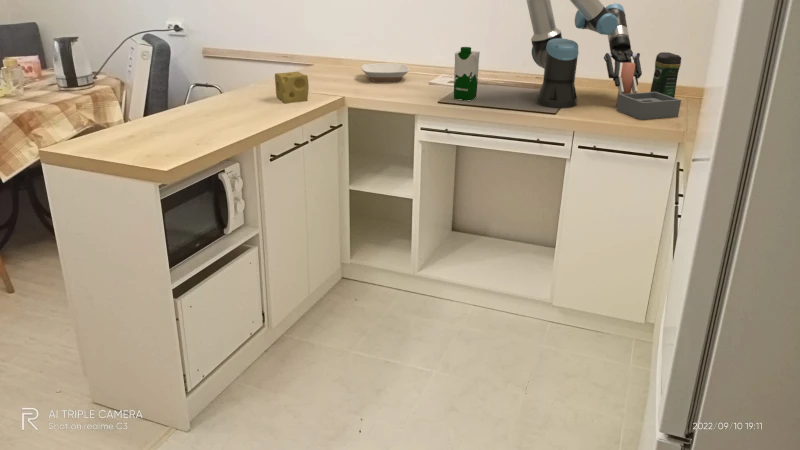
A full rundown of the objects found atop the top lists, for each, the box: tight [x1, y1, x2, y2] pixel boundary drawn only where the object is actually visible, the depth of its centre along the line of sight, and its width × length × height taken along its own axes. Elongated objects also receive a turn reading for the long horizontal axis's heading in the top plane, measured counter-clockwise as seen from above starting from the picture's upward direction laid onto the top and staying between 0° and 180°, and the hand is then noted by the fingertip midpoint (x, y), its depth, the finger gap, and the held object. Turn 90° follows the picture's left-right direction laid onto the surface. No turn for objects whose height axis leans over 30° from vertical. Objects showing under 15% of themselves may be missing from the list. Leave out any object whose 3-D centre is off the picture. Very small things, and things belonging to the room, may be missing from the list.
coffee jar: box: [649, 51, 682, 98], centre depth 247 cm, size 10×8×19 cm
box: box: [616, 91, 682, 121], centre depth 231 cm, size 16×14×6 cm
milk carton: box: [453, 46, 481, 101], centre depth 248 cm, size 9×9×20 cm
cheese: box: [274, 71, 310, 104], centre depth 247 cm, size 10×11×10 cm
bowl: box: [360, 62, 410, 83], centre depth 285 cm, size 22×22×5 cm
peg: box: [615, 62, 635, 107], centre depth 239 cm, size 4×4×16 cm
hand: (628, 93), depth 237 cm, fingers closed on peg, 4 cm apart
